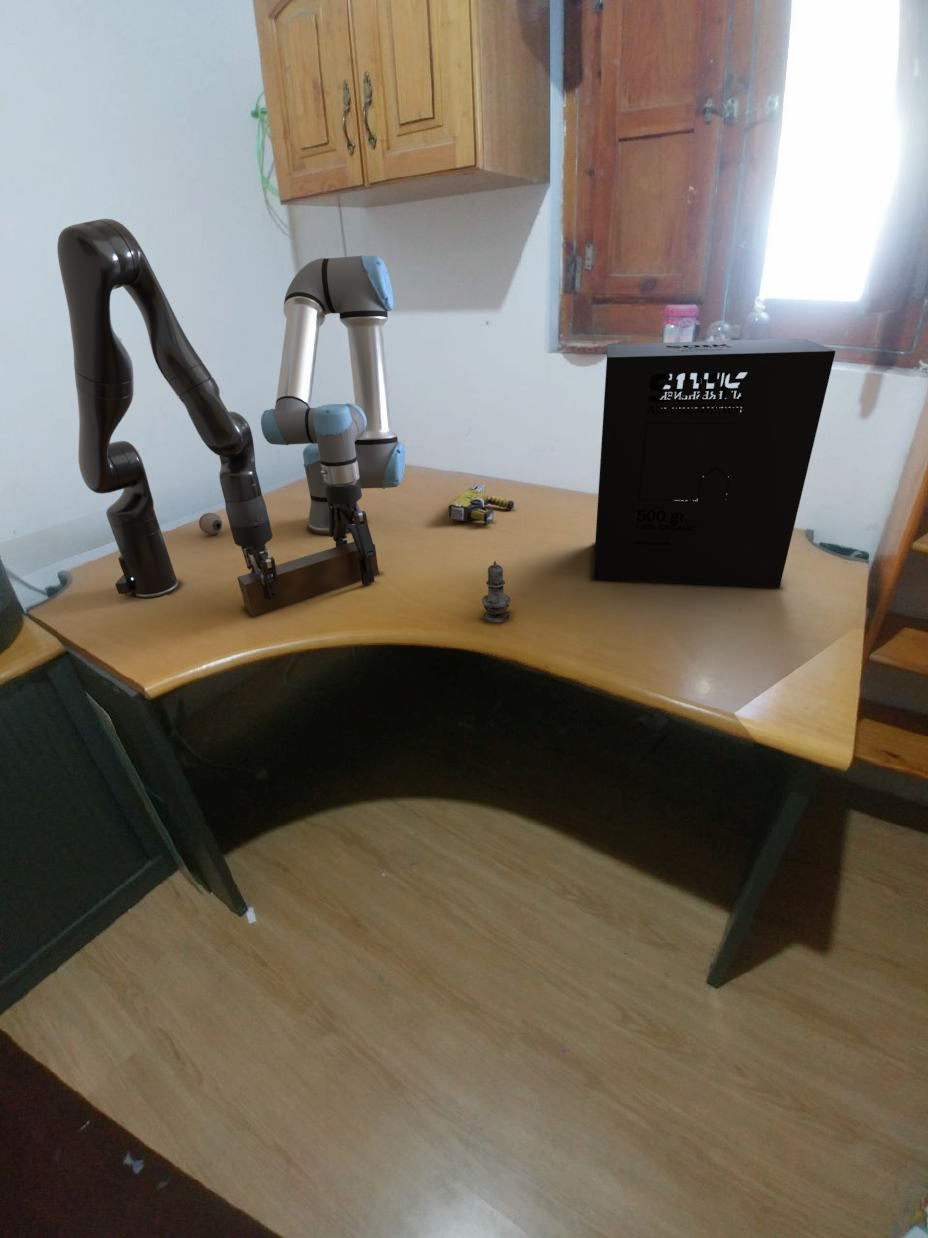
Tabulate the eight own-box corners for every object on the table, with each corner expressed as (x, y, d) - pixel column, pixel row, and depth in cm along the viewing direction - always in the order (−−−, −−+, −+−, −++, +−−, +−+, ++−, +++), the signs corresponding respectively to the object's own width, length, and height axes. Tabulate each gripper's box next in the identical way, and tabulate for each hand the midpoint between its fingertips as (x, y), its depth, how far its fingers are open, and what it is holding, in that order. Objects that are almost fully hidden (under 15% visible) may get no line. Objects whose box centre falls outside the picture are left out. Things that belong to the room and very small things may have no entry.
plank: (253, 617, 125) (245, 584, 122) (245, 608, 129) (237, 576, 125) (379, 574, 140) (375, 544, 137) (368, 567, 144) (364, 538, 140)
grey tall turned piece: (509, 624, 117) (508, 568, 111) (479, 622, 118) (477, 567, 112) (513, 609, 122) (512, 555, 116) (484, 607, 123) (482, 554, 117)
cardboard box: (759, 548, 141) (803, 338, 119) (779, 587, 124) (835, 350, 102) (595, 543, 149) (607, 344, 126) (593, 579, 132) (607, 357, 109)
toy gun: (522, 488, 179) (474, 481, 183) (499, 513, 159) (446, 504, 163) (520, 503, 181) (473, 496, 185) (498, 529, 161) (446, 520, 165)
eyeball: (212, 539, 164) (206, 518, 161) (197, 535, 167) (191, 515, 164) (230, 531, 169) (224, 511, 166) (215, 528, 172) (210, 508, 169)
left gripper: (218, 513, 123) (238, 588, 131) (241, 533, 113) (261, 612, 121) (254, 505, 126) (271, 577, 135) (280, 523, 116) (296, 600, 125)
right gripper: (303, 474, 135) (320, 563, 146) (351, 498, 118) (366, 597, 129) (334, 467, 139) (348, 555, 150) (384, 489, 122) (396, 586, 133)
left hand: (266, 593), depth 128 cm, fingers closed on plank, 5 cm apart
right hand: (356, 574), depth 140 cm, fingers open, 11 cm apart
